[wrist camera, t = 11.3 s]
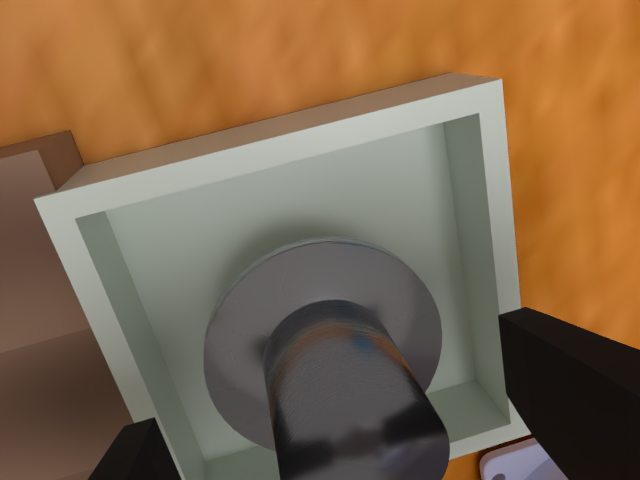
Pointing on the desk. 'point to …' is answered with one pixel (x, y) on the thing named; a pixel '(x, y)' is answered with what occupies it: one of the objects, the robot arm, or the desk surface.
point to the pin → (330, 362)
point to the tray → (291, 226)
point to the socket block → (47, 333)
